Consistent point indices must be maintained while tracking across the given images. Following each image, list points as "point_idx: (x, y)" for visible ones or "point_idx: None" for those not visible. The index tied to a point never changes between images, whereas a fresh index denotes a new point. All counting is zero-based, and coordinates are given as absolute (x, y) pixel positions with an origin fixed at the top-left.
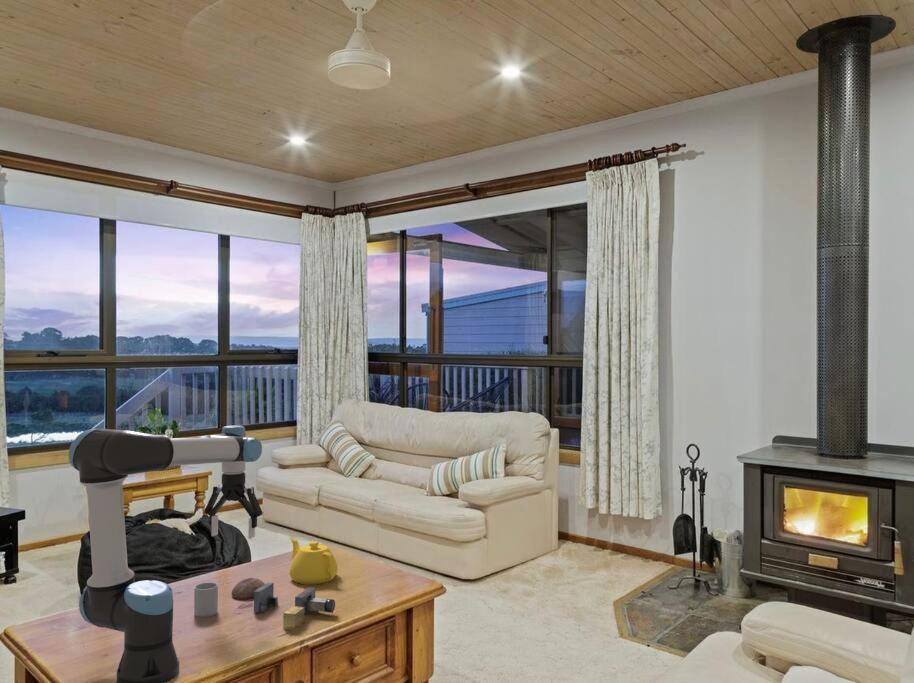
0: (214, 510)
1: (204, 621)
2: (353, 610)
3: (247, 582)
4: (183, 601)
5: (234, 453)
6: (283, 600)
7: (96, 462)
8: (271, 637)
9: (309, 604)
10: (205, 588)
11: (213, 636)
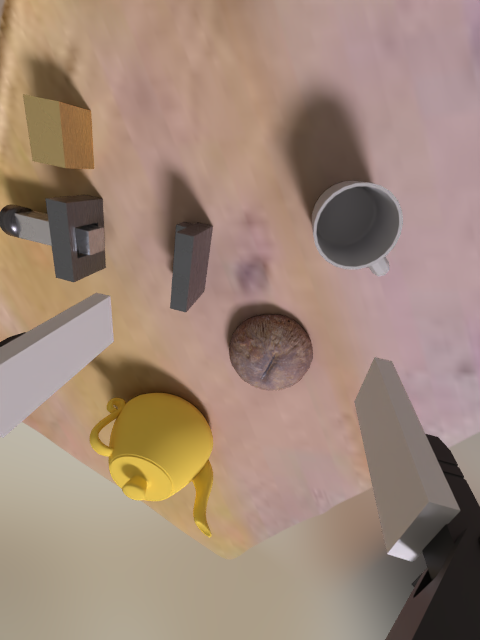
0: (453, 606)
1: (329, 147)
2: (10, 250)
3: (266, 353)
4: (438, 305)
5: None
6: None
7: None
8: (88, 33)
9: None
10: (365, 258)
11: (257, 7)
